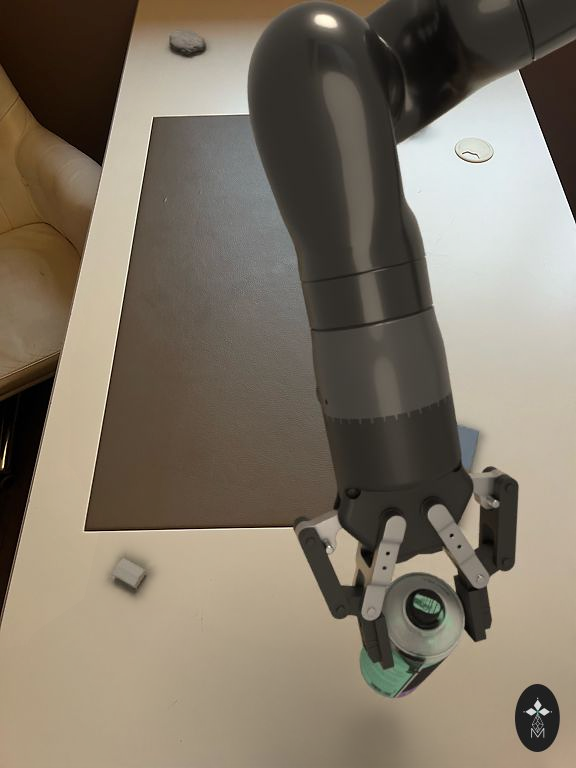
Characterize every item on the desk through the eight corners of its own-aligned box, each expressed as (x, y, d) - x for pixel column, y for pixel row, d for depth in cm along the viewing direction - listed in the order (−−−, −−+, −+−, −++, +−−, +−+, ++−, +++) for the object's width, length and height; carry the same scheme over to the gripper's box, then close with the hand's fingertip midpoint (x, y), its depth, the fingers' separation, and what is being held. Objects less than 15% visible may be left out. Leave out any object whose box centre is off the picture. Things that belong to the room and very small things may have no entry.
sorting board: (477, 435, 76) (480, 429, 75) (458, 523, 70) (460, 518, 69) (413, 416, 78) (414, 410, 77) (388, 501, 72) (390, 496, 70)
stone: (194, 33, 131) (193, 22, 129) (211, 51, 127) (210, 40, 125) (164, 42, 129) (162, 31, 128) (180, 60, 125) (179, 49, 123)
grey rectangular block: (123, 560, 68) (120, 555, 67) (149, 570, 68) (146, 565, 66) (113, 580, 67) (109, 576, 66) (139, 591, 67) (136, 586, 65)
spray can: (428, 696, 53) (485, 647, 36) (364, 702, 52) (391, 656, 36) (416, 628, 56) (463, 554, 39) (355, 633, 55) (376, 562, 39)
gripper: (273, 439, 32) (336, 722, 35) (533, 374, 33) (568, 649, 37) (256, 408, 39) (309, 645, 42) (470, 356, 41) (504, 587, 44)
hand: (430, 646), depth 40 cm, fingers closed on spray can, 5 cm apart
